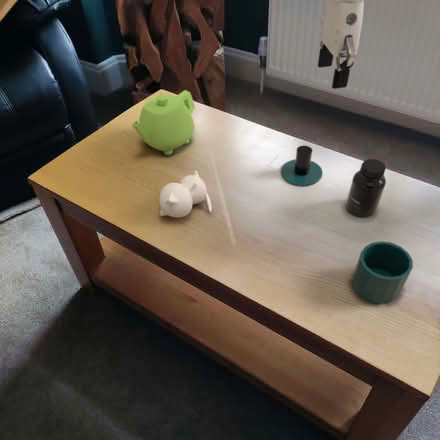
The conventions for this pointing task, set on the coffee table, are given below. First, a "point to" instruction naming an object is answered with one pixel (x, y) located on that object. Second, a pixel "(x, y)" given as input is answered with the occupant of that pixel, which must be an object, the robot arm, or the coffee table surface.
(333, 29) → the robot arm
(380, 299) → the tin
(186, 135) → the teapot
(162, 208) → the cat figurine
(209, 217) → the coffee table surface
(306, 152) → the lid
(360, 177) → the supplement bottle
